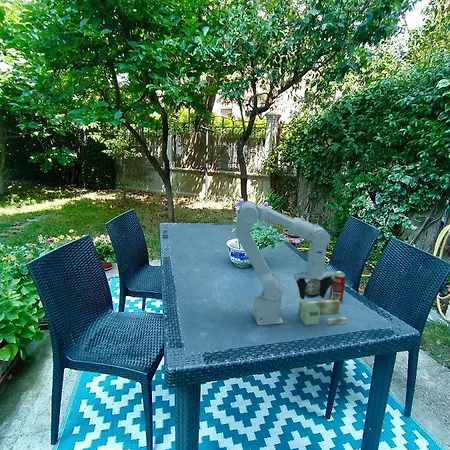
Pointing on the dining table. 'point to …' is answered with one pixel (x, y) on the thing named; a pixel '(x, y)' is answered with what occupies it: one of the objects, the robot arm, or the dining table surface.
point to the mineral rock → (313, 287)
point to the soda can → (338, 286)
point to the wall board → (327, 310)
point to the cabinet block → (310, 313)
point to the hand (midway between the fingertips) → (311, 297)
